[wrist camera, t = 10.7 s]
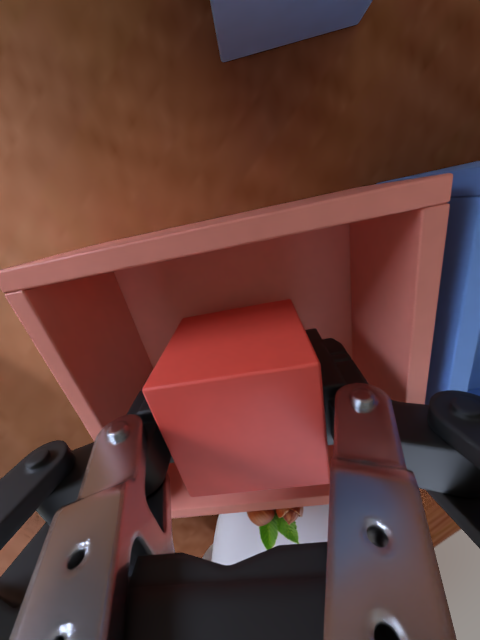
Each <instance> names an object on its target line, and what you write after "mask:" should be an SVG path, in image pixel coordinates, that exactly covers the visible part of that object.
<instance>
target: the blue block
mask: <svg viewBox="0 0 480 640" xmlns="http://www.w3.org/2000/svg"><path fill="white" fill-rule="evenodd" d="M372 1H373V0H210V3H211V9H212V14H213V20H214V25H215V31H216V36H217V42H218V47H219V53H220V58H221V61H222V62H227V61H231V60H234V59H238V58H241V57H245V56H248V55H252V54H255V53H259V52H262V51H266V50H269V49H273V48H276V47H280V46H283V45H287V44H290V43H294V42H297V41H301V40H304V39H308V38H311V37H315V36H318V35H322V34H325V33H329V32H332V31H336V30H339V29H343V28H346V27H350V26H353V25H357V24H358V23H359V22H360V20H361V19H362V17H363V15H364V14H365V12H366V10H367V9H368V7H369V6H370V4H371V2H372Z"/></svg>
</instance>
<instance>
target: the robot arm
mask: <svg viewBox="0 0 480 640" xmlns="http://www.w3.org/2000/svg"><path fill="white" fill-rule="evenodd" d="M305 331H306V333H307V335H308V338H309V340H310V342H311V344H312V346H313V348H314V351H315V353H316V355H317V357H318V359H319V361H320V364H321V374H322V385H323V397H324V409H325V421H326V432H327V444H328V445H333V457H331V468H330V492H329V516H328V541H327V542H315V543H302V544H289V545H278V546H276V547H273V548H271V549H268V550H266V551H264V552H261V553H259V554H256V555H254V556H252V557H249V558H247V559H245V560H242V561H240V562H237V563H235V564H232V565H222V564H219V563H215V562H212V561H209V560H205V559H202V558H198V557H195V556H192V555H188V554H185V553H175V550H174V546H173V539H172V519H171V495H170V478H169V475H168V473H167V470H168V467H169V463H174V460H173V458H172V456H171V454H170V451H169V449H168V447H167V445H166V443H165V441H164V438H163V436H162V434H161V432H160V430H159V427H158V425H157V423H156V421H155V419H154V416H153V414H152V412H151V410H150V408H149V405H148V403H147V401H146V399H145V397H144V395H143V392H142V389H143V387H144V385H145V384H144V385H143V386H142V388H141V391H140V392H139V393H138V395H137V397H136V399H135V400H134V402H133V404H132V405H131V407H130V409H129V411H128V412H127V414H126V415H124V416H121V417H119V418H116V419H115V420H113V421H111V422H110V423H108V424H107V425H106V426H105V427H104V428H103V429H102V430H101V431H100V432H99V433H98V435H97V437H96V439H95V441H94V442H93V443H91V444H88V445H85V446H83V447H80V448H78V449H75V450H72V451H71V450H70V448H69V447H68V445H67V444H66V443H65V442H64V441H59V440H58V441H53V442H49V443H47V444H44V445H42V446H41V447H39V448H37V449H35V450H34V451H32V452H31V453H30V454H28V455H27V456H26V457H25V458H24V459H23V460H21V461H20V462H19V463H18V464H17V465H16V466H15V467H14V468H13V469H11V470H10V471H9V472H8V473H7V474H6V475H5V476H4V477H3V478H1V479H0V550H1V549H2V548H3V547H4V545H5V544H6V543H7V542H8V541H9V540H10V539H11V538H12V537H13V535H14V534H15V533H16V532H17V531H18V530H19V529H20V528H21V526H22V525H23V524H24V523H25V522H26V521H27V520H28V519H29V517H30V516H31V515H32V514H33V513H34V512H35V511H37V512H38V513H39V515H40V516H41V517H42V518H43V519H44V520H45V521H46V523H45V524H44V525H43V527H42V528H41V529H40V530H39V531H38V533H37V534H36V535H35V536H34V537H33V539H32V540H31V541H30V542H29V543H28V545H27V546H26V547H25V548H24V549H23V551H22V552H21V553H20V554H19V555H18V557H17V558H16V559H15V560H14V561H13V563H12V564H11V565H10V566H9V567H8V569H7V570H6V571H5V572H4V574H3V575H2V576H1V577H0V640H457V639H456V635H455V631H454V627H453V623H452V619H451V615H450V611H449V607H448V604H447V599H446V595H445V591H444V587H443V583H442V579H441V575H440V571H439V567H438V563H437V560H436V555H435V552H434V547H433V543H432V539H431V535H430V531H429V527H428V523H427V519H426V515H425V511H424V507H423V503H422V499H421V495H420V491H419V488H421V489H425V490H426V491H427V492H428V493H429V494H430V495H431V496H432V498H433V499H434V500H435V501H436V502H437V503H438V504H439V505H440V506H441V507H442V508H443V509H444V510H445V512H446V513H447V514H448V515H449V516H450V517H451V518H452V519H453V520H454V521H455V522H456V523H457V524H458V526H459V527H460V528H461V529H462V530H463V531H464V532H465V533H466V534H467V535H468V536H469V537H470V538H471V540H472V541H473V542H474V543H475V544H476V545H477V546H478V547H479V548H480V396H478V395H475V394H472V393H468V392H464V391H456V390H446V391H441V392H438V393H435V394H434V395H433V396H432V397H431V398H430V401H429V405H425V404H415V403H405V402H399V401H395V400H391V399H390V397H389V396H388V395H387V394H386V393H385V392H384V391H383V390H381V389H380V388H378V387H375V386H373V385H370V384H369V383H368V382H367V380H366V379H365V378H364V376H363V375H362V373H361V372H360V370H359V369H358V367H357V366H356V364H355V363H354V361H353V360H352V359H351V357H350V355H349V354H348V353H347V351H346V349H345V348H344V347H343V345H342V344H341V343H340V342H338V341H336V340H335V339H333V338H327V339H322V338H321V336H320V334H319V333H318V331H317V329H316V328H313V329H307V330H305ZM151 373H152V372H151ZM151 373H150V374H151ZM150 374H149V376H150ZM149 376H148V378H149ZM148 378H147V379H146V381H145V383H146V382H147V380H148Z"/></svg>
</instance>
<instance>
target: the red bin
mask: <svg viewBox="0 0 480 640" xmlns="http://www.w3.org/2000/svg"><path fill="white" fill-rule="evenodd" d="M452 182H453V174H452V173H446V174H439V175H433V176H427V177H420V178H414V179H407V180H401V181H395V182H388V183H382V184H375V185H369V186H363V187H357V188H352V189H347V190H343V191H338V192H334V193H329V194H325V195H320V196H315V197H311V198H306V199H302V200H297V201H293V202H288V203H283V204H279V205H274V206H270V207H265V208H260V209H256V210H251V211H247V212H242V213H238V214H233V215H228V216H224V217H219V218H215V219H210V220H206V221H201V222H196V223H192V224H187V225H183V226H178V227H174V228H169V229H164V230H160V231H155V232H151V233H146V234H142V235H137V236H132V237H128V238H123V239H119V240H114V241H110V242H105V243H100V244H96V245H92V246H89V247H85V248H81V249H77V250H73V251H70V252H66V253H62V254H58V255H55V256H51V257H47V258H43V259H39V260H36V261H32V262H28V263H24V264H20V265H17V266H13V267H9V268H5V269H1V270H0V288H1V290H2V292H4V293H6V294H5V297H6V299H7V300H8V302H9V303H10V305H11V307H12V308H13V310H14V312H15V313H16V315H17V316H18V318H19V320H20V321H21V323H22V325H23V326H24V328H25V329H26V331H27V333H28V334H29V336H30V338H31V339H32V341H33V342H34V344H35V346H36V347H37V349H38V351H39V352H40V354H41V355H42V357H43V359H44V360H45V362H46V364H47V365H48V367H49V368H50V370H51V372H52V373H53V375H54V377H55V378H56V380H57V381H58V383H59V385H60V386H61V388H62V390H63V391H64V393H65V394H66V396H67V398H68V399H69V401H70V403H71V404H72V406H73V407H74V409H75V411H76V412H77V414H78V416H79V417H80V419H81V420H82V422H83V424H84V425H85V427H86V429H87V430H88V432H89V433H90V435H91V437H92V438H93V440H94V441H95V439H96V437H97V435H98V433H99V432H100V431H101V430H102V429H103V428H104V427H105V426H106V425H107V424H108V423H110V422H111V421H113V420H115V419H116V418H119V417H121V416H124V415H126V414H127V412H128V411H129V409H130V407H131V405H132V404H133V402H134V400H135V399H136V397H137V395H138V393H139V392H140V391H141V388H142V386H143V385H144V384H145V381H146V379H147V378H148V376H149V374H150V373H151V372H152V371H153V369H154V367H155V366H156V364H157V362H158V360H159V359H160V357H161V355H162V353H163V352H164V350H165V348H166V346H167V345H168V343H169V341H170V339H171V338H172V336H173V334H174V332H175V331H176V329H177V327H178V325H179V324H180V322H181V320H182V319H183V318H186V317H191V316H197V315H202V314H208V313H214V312H219V311H225V310H230V309H236V308H241V307H247V306H253V305H258V304H264V303H269V302H275V301H281V300H286V299H291V301H292V303H293V305H294V307H295V309H296V311H297V314H298V316H299V318H300V320H301V322H302V324H303V327H304V329H305V330H307V329H313V328H316V329H317V331H318V333H319V334H320V336H321V338H322V339H327V338H333V339H335V340H336V341H338V342H340V343H341V344H342V345H343V347H344V348H345V349H346V351H347V353H348V354H349V355H350V357H351V359H352V360H353V361H354V363H355V364H356V366H357V367H358V369H359V370H360V372H361V373H362V375H363V376H364V378H365V379H366V380H367V382H368V383H369V384H370V385H373V386H375V387H378V388H380V389H381V390H383V391H384V392H385V393H386V394H387V395H388V396H389V397H390V399H391V400H395V401H399V402H405V403H415V404H425V398H426V390H427V382H428V374H429V366H430V358H431V351H432V343H433V335H434V327H435V319H436V311H437V304H438V296H439V288H440V280H441V272H442V264H443V257H444V249H445V241H446V233H447V225H448V217H449V210H450V204H449V203H447V202H449V201H450V198H451V190H452ZM328 456H329V468H331V457H333V445H328ZM167 473H168V475H169V478H170V495H171V519H172V518H183V517H194V516H205V515H216V514H227V513H238V512H249V511H260V510H271V509H282V508H293V507H305V506H316V505H327V504H329V492H330V483H329V484H321V485H311V486H301V487H291V488H281V489H271V490H261V491H251V492H241V493H231V494H221V495H211V496H201V497H190V495H189V493H188V491H187V489H186V487H185V484H184V482H183V480H182V478H181V476H180V473H179V471H178V469H177V467H176V465H175V462H174V463H169V467H168V470H167Z"/></svg>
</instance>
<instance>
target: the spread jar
mask: <svg viewBox="0 0 480 640" xmlns="http://www.w3.org/2000/svg"><path fill="white" fill-rule="evenodd" d="M328 516H329V504H327V505H316V506H305V507H293V508H282V509H271V510H260V511H249V512H238V513H227V514H219V516H218V520H217V524H216V530H215V535H214V542H213V544H212V545H211V546H210V547H209V548H208V549H207V551H206V552H205V554H204V556H203V558H202V559H205V560H209V561H212V562H215V563H219V564H222V565H232V564H235V563H237V562H240V561H242V560H245V559H247V558H249V557H252V556H254V555H256V554H259V553H261V552H264V551H266V550H268V549H271V548H273V547H276V546H278V545H289V544H302V543H315V542H327V541H328Z"/></svg>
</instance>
